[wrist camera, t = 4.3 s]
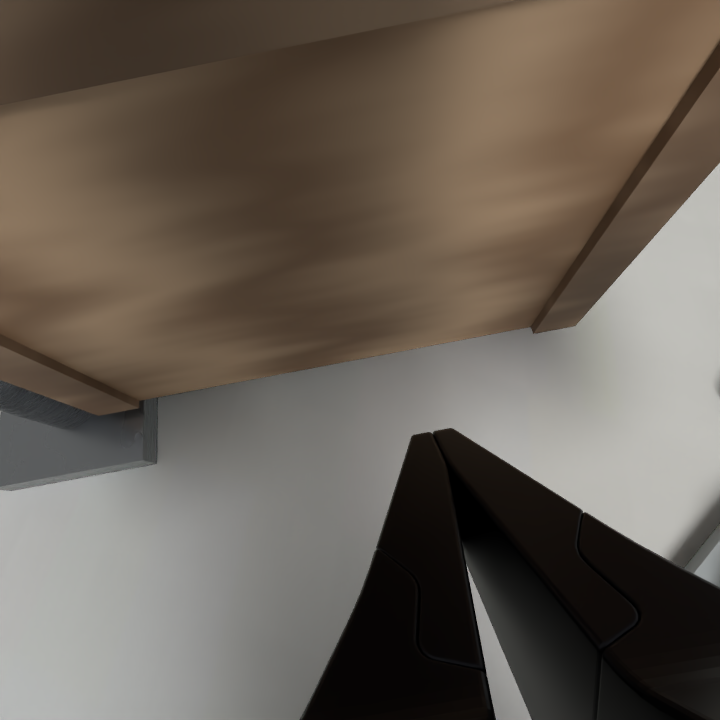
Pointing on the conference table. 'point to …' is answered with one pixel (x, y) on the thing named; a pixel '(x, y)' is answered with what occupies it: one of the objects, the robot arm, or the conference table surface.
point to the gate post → (69, 439)
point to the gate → (327, 177)
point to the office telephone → (707, 559)
